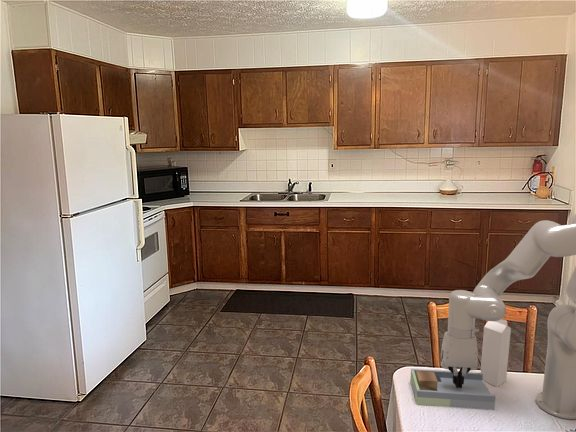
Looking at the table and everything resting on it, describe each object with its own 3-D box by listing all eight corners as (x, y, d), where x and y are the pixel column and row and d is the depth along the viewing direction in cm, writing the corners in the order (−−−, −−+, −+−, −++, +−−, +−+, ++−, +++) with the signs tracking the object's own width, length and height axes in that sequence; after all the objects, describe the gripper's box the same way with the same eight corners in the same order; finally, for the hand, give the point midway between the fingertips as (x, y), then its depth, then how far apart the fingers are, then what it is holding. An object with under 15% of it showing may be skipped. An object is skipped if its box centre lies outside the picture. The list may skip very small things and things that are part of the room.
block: (433, 382, 141) (434, 372, 140) (436, 391, 135) (437, 381, 135) (415, 381, 141) (416, 371, 141) (418, 390, 136) (419, 380, 135)
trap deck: (480, 385, 143) (482, 373, 142) (494, 409, 130) (495, 396, 130) (410, 381, 146) (411, 368, 145) (416, 404, 133) (417, 391, 132)
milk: (497, 387, 142) (502, 323, 138) (479, 379, 147) (484, 317, 143) (506, 381, 146) (512, 319, 142) (488, 373, 151) (494, 313, 147)
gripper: (482, 326, 137) (479, 380, 140) (433, 324, 138) (431, 378, 142) (490, 337, 129) (486, 393, 132) (438, 335, 131) (435, 391, 134)
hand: (458, 385), depth 137 cm, fingers closed
